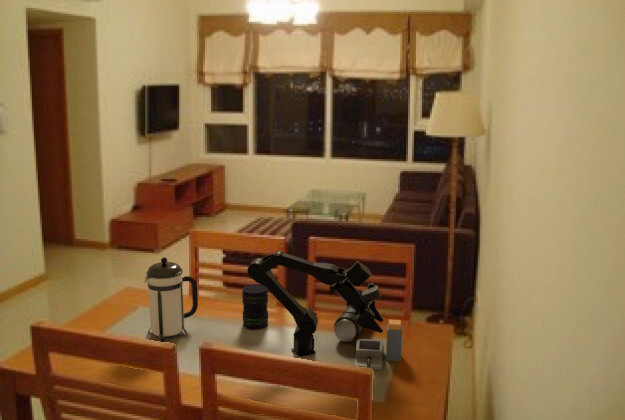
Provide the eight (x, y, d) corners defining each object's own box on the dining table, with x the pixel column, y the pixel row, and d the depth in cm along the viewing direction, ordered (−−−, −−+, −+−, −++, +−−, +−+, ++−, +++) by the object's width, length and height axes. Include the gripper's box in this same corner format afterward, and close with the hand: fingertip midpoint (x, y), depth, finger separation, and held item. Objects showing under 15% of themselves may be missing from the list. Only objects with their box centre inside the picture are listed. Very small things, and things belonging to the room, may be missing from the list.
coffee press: (180, 345, 215) (177, 265, 209) (139, 341, 218) (135, 262, 212) (199, 326, 232) (196, 251, 225) (160, 322, 235) (157, 248, 228)
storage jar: (270, 320, 237) (269, 284, 234) (266, 330, 228) (265, 293, 225) (245, 319, 238) (244, 283, 235) (240, 329, 229) (239, 292, 226)
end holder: (354, 368, 198) (354, 357, 197) (357, 342, 218) (358, 332, 217) (381, 370, 197) (382, 359, 196) (382, 344, 216) (383, 333, 216)
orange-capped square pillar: (386, 360, 204) (387, 324, 201) (386, 353, 209) (387, 318, 206) (400, 361, 204) (402, 325, 201) (400, 354, 208) (402, 319, 206)
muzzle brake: (374, 319, 240) (375, 294, 238) (357, 347, 214) (358, 320, 212) (351, 315, 243) (352, 291, 241) (331, 344, 217) (332, 317, 215)
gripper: (366, 288, 192) (400, 322, 193) (368, 270, 211) (399, 301, 212) (341, 310, 195) (375, 343, 196) (345, 291, 213) (376, 321, 214)
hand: (382, 326), depth 204 cm, fingers open, 9 cm apart
